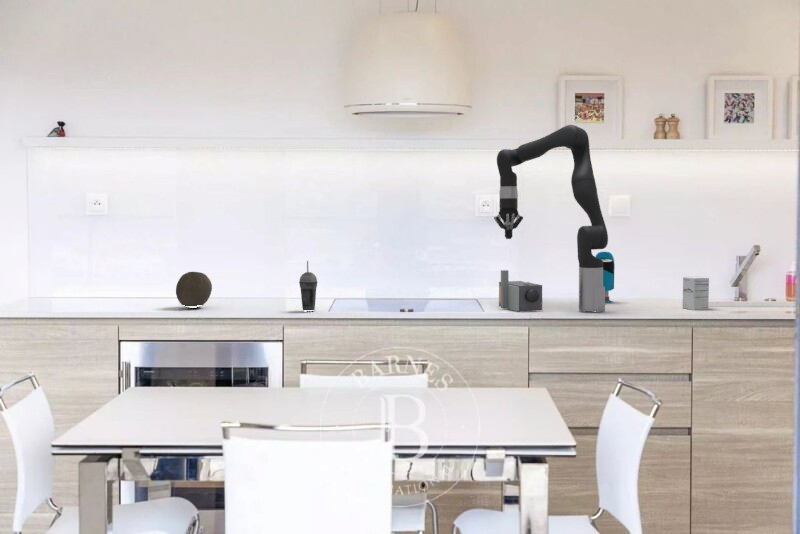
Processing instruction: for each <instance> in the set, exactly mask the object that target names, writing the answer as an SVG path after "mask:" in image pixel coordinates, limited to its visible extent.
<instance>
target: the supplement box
mask: <svg viewBox="0 0 800 534" xmlns="http://www.w3.org/2000/svg"><path fill="white" fill-rule="evenodd" d="M709 288H710V277H704V276H697V275H695V276H683V277H682V308H683V309H687V310H692V311H702V310H703V311H704V310H709V302H710V301H709V299H710V298H709V297H710V296H709V295H710V289H709Z"/></svg>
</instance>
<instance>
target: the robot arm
mask: <svg viewBox="0 0 800 534" xmlns="http://www.w3.org/2000/svg"><path fill="white" fill-rule="evenodd" d="M561 147H562V148H566V149H569V150H570V151H571V155H572V159H573V169H572V170H573V171H572V173H571V178H570V179H571V180H570V182H571V183H570V184H571V189H572V194H573V198H574V200H575V201H576V203H577V204H578V205H579V206H580V208H581V209H582V210H583V211H584V212H585V214H586V216H587V217H588V219H589V221H590V224H591V225H582V226H580V227H579V229H578V231H577V235H576V244H577V260H578V312H580V311H596V312H595V313H600V312H599V311H603V312H606V303H605V287H603V260H601V259H599V258H596V255H593V252H592V251H593V250H603V249H606V248H607V246H608V243H609V235H608V230H607V226H606V223H605V219H604V216H603V213H602V210H601V205H600V199H599V195H598V188H597V184H596V180H595V179H596V178H595V175H594V169H593V163H592V159H591V150H590V139H589V134H588V133H587V131H586V130H585V129H584V128H582V127H579V126H577V125H574V124H568V125H567V124H566V125H565V126H563V127H561V128H559V129H557V130H554V132H551V133H549V134H547V135H545V136H543V137H541V138H538V139H535V140H532V141H529V142H527V143H523V144H521V145H518V147H517V148H514V149H508V148H507V149H506V148H505V149H501V150H500V151H498V153H497V155H496V165H497V170H498V174H499V180H500V181H499V211H498V214H497V215H496V216H494V217H493V220H494V221H495V222H496V224H497V225H498V226H499V228H500V229H503V230H504V237H505V239H506V240H511V239H512V238H513V230H514V229H517V228H518V226H519V225H520V223H521V222H522V221H523V219H524V216H521V215H520V214H519V211H518V204H519V203H518V199H519V197H518V195H519V194H518V176H517V173H516V172H514V171H513V168H512V167H516V166H519V165H522V164H524V163H525V162H528V161H531V160H535V159H537V158H540V157H542V156H543V155H546V154H547V153H548V152H549V151H551V150H554V149H557V148H561Z"/></svg>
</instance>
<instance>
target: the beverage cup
mask: <svg viewBox="0 0 800 534" xmlns="http://www.w3.org/2000/svg"><path fill="white" fill-rule="evenodd" d="M298 283H299V288H300V293H301V294H300V297H301V305H302V307H301V308H302V311H303V310H314V311H315V308H316V295H317V288H318V279H317V276H316V275H315V274H314V273H313V272H310V271H309V260H306V272H304V273H302V274H301V275H300V278H299V282H298Z"/></svg>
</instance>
